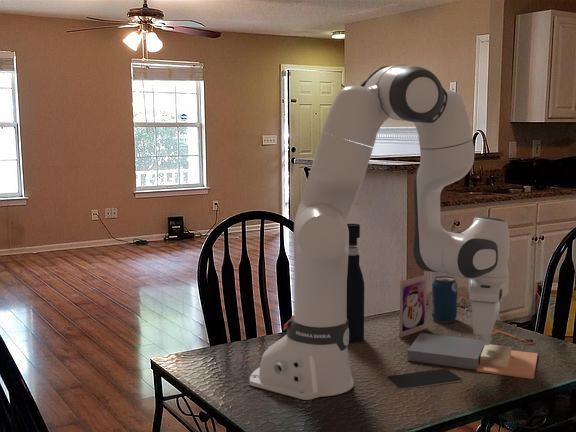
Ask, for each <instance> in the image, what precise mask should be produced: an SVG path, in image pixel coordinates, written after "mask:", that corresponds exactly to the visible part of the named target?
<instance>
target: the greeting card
mask: <svg viewBox="0 0 576 432" xmlns="http://www.w3.org/2000/svg"><path fill="white" fill-rule="evenodd" d="M403 277H404V272H402V273H401V277H400V281H399V284H400V285H399V287H400V289H399V333H398V334H399V337H398V338H399V339H401V338H403V337H406V336H409V335H411V334H412V335H413V334H414V333H417V332H419V331H423V330H427V329H426V328H427V295H428V293H427V291H428V290H427V289H428V274H424V275H421V276H416V277H413V278H408V279H406V280H405V279H404V278H403ZM403 279H404V280H403Z"/></svg>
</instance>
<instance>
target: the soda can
mask: <svg viewBox="0 0 576 432" xmlns="http://www.w3.org/2000/svg"><path fill="white" fill-rule="evenodd" d="M431 284H432V285H431V316H432V318H433V320H434V321H435V322H438V323H442V324H443V323H445V324H447V323H452V322H454V321H455V320H456V319H457V316H458V315H457V314H458V313H457V312H458V283H457V281H456V277H454V276H450V275H449V276H448V275H447V276H446V275H445V276H444V275H441V276H435V277H434V280H433V281H432V283H431Z"/></svg>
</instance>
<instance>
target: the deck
mask: <svg viewBox="0 0 576 432" xmlns="http://www.w3.org/2000/svg"><path fill="white" fill-rule="evenodd" d="M484 346H485V345H483V344H482V339H475V338H467V337H458V336H450V335H443V334H442V335H439V334H432V333H424V332H421V333H419V334H418V335H417V337H416V338H415V340H414V341H413V343H412V344H411V345H410V347H408V349H407V359H406V360H407V361H410V362H416V363H425V364H432V365H438V366H439V365H440V366H447V367H452V368H453V367H455V368H460V369H461V368H462V369H467V370H476V371H477V368H478V365H479V363H480V356H481V353H482V351H483V348H484Z"/></svg>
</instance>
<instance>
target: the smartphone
mask: <svg viewBox="0 0 576 432" xmlns="http://www.w3.org/2000/svg"><path fill="white" fill-rule="evenodd" d="M386 379H387V380H388V381H389V382H390V383H392V385H394V386H395V387H396V388H397V389H399V390H407V389H416V388H422V387H431V386H438V385H446V384H454V383H459V382H462V378H461V377H460V376H458V375H457V374H455V373H454V372H452V371H451V370H449V369H448V368H439V369H431V370H424V371H416V372H409V373H402V374H393V375H388V376H387V377H386Z"/></svg>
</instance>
